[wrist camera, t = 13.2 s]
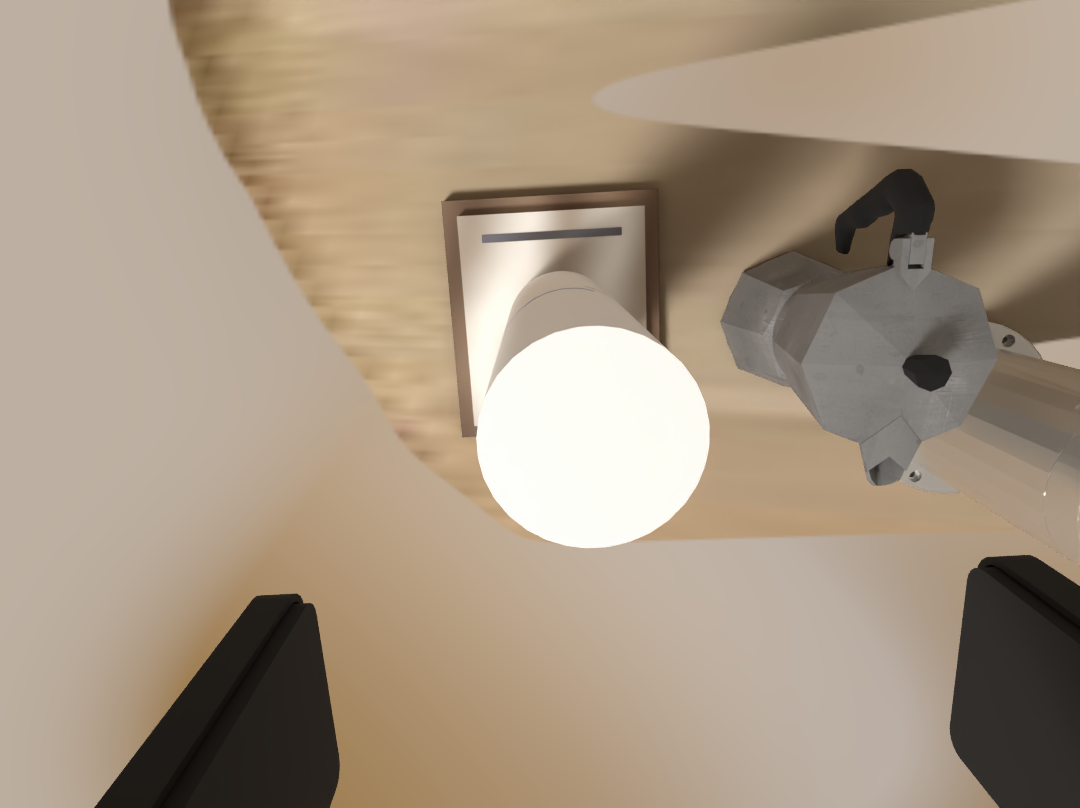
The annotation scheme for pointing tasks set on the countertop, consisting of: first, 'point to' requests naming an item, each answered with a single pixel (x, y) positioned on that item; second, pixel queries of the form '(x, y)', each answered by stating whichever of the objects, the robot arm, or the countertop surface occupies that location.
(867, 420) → the coffeepot
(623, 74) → the countertop surface
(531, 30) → the countertop surface
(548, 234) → the notepad
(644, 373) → the cylindrical container
